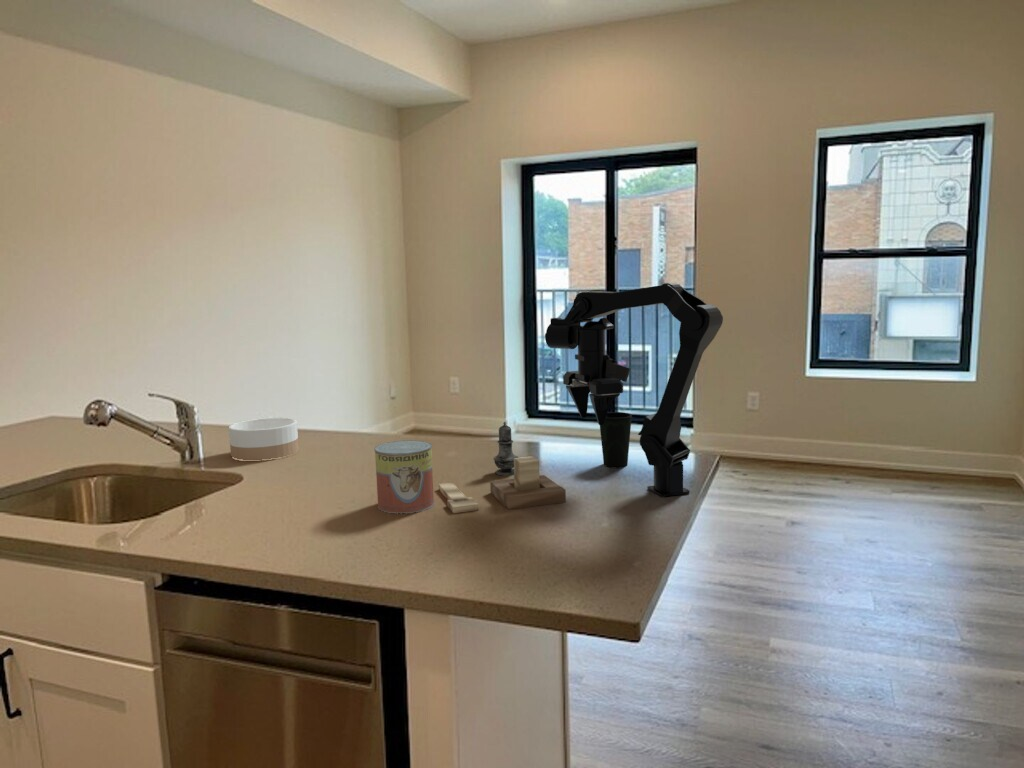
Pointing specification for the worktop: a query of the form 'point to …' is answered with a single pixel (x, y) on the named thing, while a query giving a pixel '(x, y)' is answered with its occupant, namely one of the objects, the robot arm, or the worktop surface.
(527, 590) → the worktop surface
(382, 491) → the canned food
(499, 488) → the socket block
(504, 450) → the salt shaker
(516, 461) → the wooden pin
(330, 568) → the worktop surface
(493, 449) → the worktop surface
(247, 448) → the bowl
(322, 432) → the worktop surface
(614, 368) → the robot arm
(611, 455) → the cup
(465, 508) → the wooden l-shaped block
